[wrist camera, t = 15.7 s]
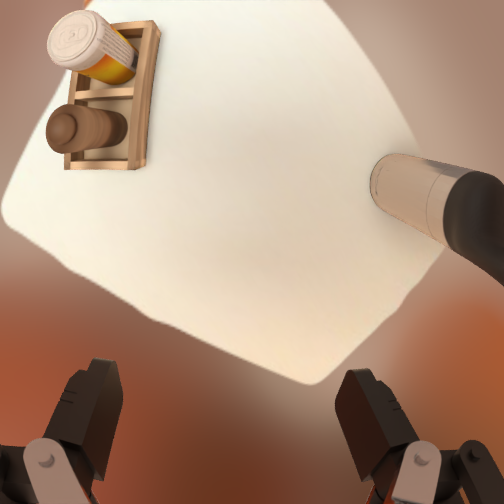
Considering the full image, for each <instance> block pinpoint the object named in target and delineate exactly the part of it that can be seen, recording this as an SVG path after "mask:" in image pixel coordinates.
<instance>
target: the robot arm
mask: <svg viewBox="0 0 504 504" xmlns="http://www.w3.org/2000/svg"><path fill="white" fill-rule="evenodd" d="M370 189H371V194H372V197H373V199H374V201H375V203H376V204H377V205H378V207H379V208H381V209H382V210H383V211H385V212H387V213H389V214H391V215H393V216H395V217H396V218H398V219H400V220H402V221H403V222H405V223H407V224H409V225H411V226H412V227H414V228H416V229H418V230H419V231H421V232H423V233H424V234H426V235H428V236H430V237H431V238H433V239H435V240H436V241H438V242H440V243H442V244H443V245H445V246H446V247H448V248H450V249H451V250H453V251H454V252H456V253H458V254H459V255H461V256H463V257H464V258H466V259H468V260H469V261H471V262H472V263H474V264H475V265H477V266H478V267H479V268H481V269H482V270H484V271H485V272H487V273H488V274H489V275H490V276H492V277H493V278H494V279H496V280H497V281H498V282H499V283H500V284H502V285H503V286H504V185H503V183H502V182H501V181H500V180H499V179H498V178H496V177H495V176H493V175H490V174H487V173H483V172H479V171H475V170H471V169H467V168H463V167H459V166H454V165H450V164H446V163H441V162H437V161H432V160H427V159H422V158H417V157H413V156H407V155H401V154H391V155H388V156H386V157H384V158H382V159H381V160H380V161H379V162H378V163H377V165H376V166H375V168H374V170H373V172H372V176H371V181H370ZM122 404H123V391H122V386H121V382H120V377H119V373H118V368H117V364H116V362H115V361H113V360H106V359H101V358H93V360H92V361H91V363H90V366H89V368H88V370H87V371H85V370H79V371H77V372H76V373H75V374H74V375H73V376H72V377H71V378H70V379H69V381H68V383H67V385H66V387H65V389H64V392H63V393H62V395H61V398H60V401H59V402H58V404H57V406H56V409H55V410H54V413H53V415H52V417H51V419H50V422H49V424H48V426H47V429H46V431H45V433H44V435H43V437H42V438H40V439H35V440H33V441H31V442H30V443H29V444H28V445H27V446H26V447H17V446H16V447H15V446H4V445H1V444H0V504H99V502H98V500H97V498H96V497H95V495H94V493H93V491H92V490H91V487H92V482H93V479H96V480H100V481H104V477H105V472H106V468H107V464H108V459H109V455H110V451H111V447H112V443H113V439H114V435H115V431H116V427H117V424H118V420H119V416H120V412H121V409H122ZM335 411H336V414H337V417H338V420H339V423H340V425H341V428H342V430H343V433H344V436H345V438H346V441H347V444H348V446H349V449H350V452H351V455H352V457H353V460H354V463H355V465H356V468H357V471H358V474H359V476H360V479H361V482H364V481H368V480H372V479H373V481H374V484H375V485H374V486H373V487H372V489H371V492H370V494H369V496H368V499H367V501H366V503H365V504H464V501H463V499H462V497H461V495H460V492H459V490H460V489H461V488H463V489H464V491H465V494H466V496H467V498H468V500H469V503H470V504H504V479H503V476H502V475H501V473H500V471H499V469H498V467H497V465H496V464H495V462H494V460H493V458H492V456H491V455H490V453H489V451H488V449H487V448H486V447H485V445H483V444H482V443H481V442H479V441H476V440H469V441H466V442H465V443H464V444H463V445H462V446H461V447H460V448H459V449H458V450H438V449H437V447H435V446H434V445H433V444H431V443H429V442H426V441H420V440H419V438H418V436H417V434H416V432H415V431H414V429H413V427H412V425H411V424H410V422H409V420H408V418H407V417H406V415H405V413H404V411H403V410H401V406H400V404H399V403H398V402H397V401H396V397H395V396H394V394H393V392H392V391H391V389H390V388H389V387H388V386H387V385H385V384H384V383H383V382H382V381H376V379H375V377H374V375H373V373H372V372H371V370H370V369H368V368H365V369H354V370H348V371H347V372H346V375H345V377H344V379H343V382H342V385H341V387H340V389H339V392H338V394H337V396H336V399H335Z"/></svg>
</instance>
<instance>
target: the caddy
mask: <svg viewBox="0 0 504 504" xmlns="http://www.w3.org/2000/svg"><path fill="white" fill-rule="evenodd" d="M110 25H111V26H113V27H114V28H115V29H116V30H117V31H118V32H119V33H120V34H121V35H122V36H123V37H124V38H125V39H126V40H128V41H129V42H130V43H131V44H132V45H133V46H134V47H135V48H136V49H137V51H138V52H139V57H138V64H137V70H136V73H135V74H134V76H133V77H132V78H131V79H129V80H128V81H127V82H125V83H123V84H120V85H108V84H106V83H103V82H101V81H98V80H96V79H93V78H90V77H88V76H85V75H83V74H80V73H77V72H74V71H72V74H71V81H70V88H69V96H68V104H66V105H62V106H60V107H59V108H57V109H56V110H55V111H54V112H53V113H52V114H51V116H50V118H49V120H48V122H47V126H46V139H47V142H48V144H49V146H50V147H51V148H52V149H53V150H54V151H55V152H57V153H61V154H64V170H82V169H112V170H136V169H139V168H141V167H144V166H145V164H146V148H147V135H148V123H149V113H150V103H151V95H152V87H153V79H154V72H155V65H156V59H157V52H158V46H159V41H160V35H161V32H160V30H159V29H158V27H157V25H156V24H155V22H154V21H153V20H149V21H135V22H124V23H115V24H110Z"/></svg>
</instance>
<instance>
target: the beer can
mask: <svg viewBox="0 0 504 504" xmlns="http://www.w3.org/2000/svg"><path fill="white" fill-rule="evenodd" d="M47 50H48V53H49V55H50V57H51V59H52V61H53V62H54V63H55V64H56V65H58V66H61V67H63V68H66V69H69V70H72V71H74V72H77V73H80V74H83V75H85V76H88V77H90V78H93V79H96V80H98V81H101V82H103V83H106V84H108V85H120V84H123V83H125V82H127V81H128V80H129V79H131V78H132V77H133V76H134V74H135V73H136V70H137V64H138V57H139V52H138V51H137V49H136V48H135V47H134V46H133V45H132V44H131V43H130V42H129V41H128V40H126V39H125V38H124V37H123V36H122V35H121V34H120V33H119V32H118V31H117V30H116V29H115V28H114V27H113V26H111V25H110V24H109V23H108V22H107V21H106V20H105V19H104V18H103V17H102V16H100V15H99V14H98V13H96V12H94V11H89V10H86V11H84V10H78V11H74V12H71V13H69V14H67V15H66V16H64V17H63V18H61V19H60V20H59V21H58V22H57V23H56V25H55V26H54V27H53V29H52V30H51V32H50V34H49V37H48V41H47Z"/></svg>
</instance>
